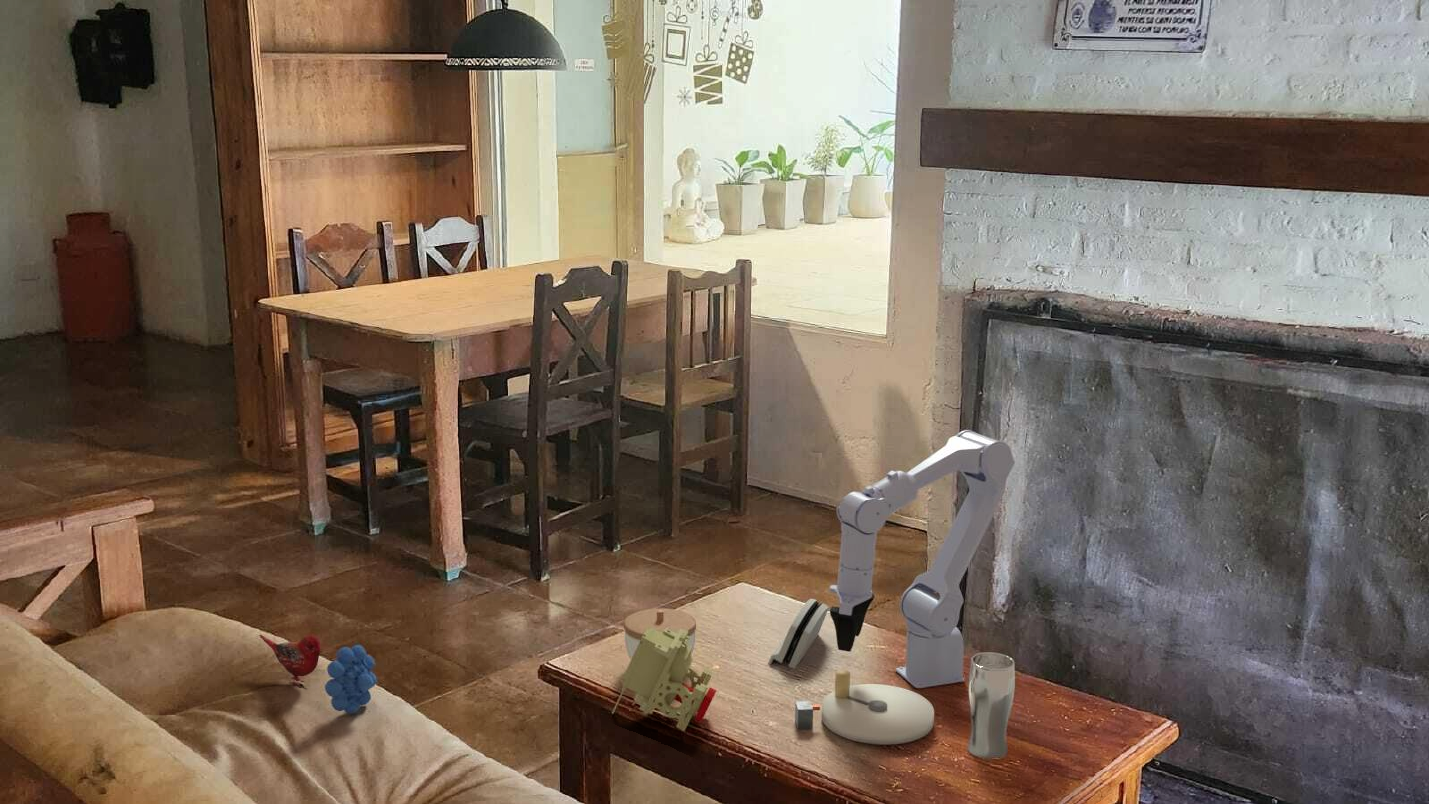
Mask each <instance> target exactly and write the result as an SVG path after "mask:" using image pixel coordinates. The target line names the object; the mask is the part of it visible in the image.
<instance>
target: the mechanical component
mask: <svg viewBox="0 0 1429 804" xmlns="http://www.w3.org/2000/svg"><path fill="white" fill-rule="evenodd" d="M688 632H689V631H687V630H682V629H681V628H680V630H679V631H678V633H675V632H673V631H671V630H669V629H667V628H666V629H665V630H664V632H663V633H661V632H659V631H657V630H654V629H653V628H651V629H650V628H647V630H646V632H645V633H644V635H643V636H642V638H641V640H640V642H639V644H638V646H637V649H636V651H635V653H634V655H633V657H632V659H631V660H630V661H629V663H628V666H627V668H626V670H625V672H624V674H623V677H622V678H621V679H620V683H621V684H622V688H621V693H620V694H619V697H618V699H617V701H616V703H615V706H614V708H613V709H612V711H611V714H612V715H613V714H614V713H615V711H616V708H617V707H618V704H619V703H620V700H621V698H622V696H623V694H624V692H625V691H626V689H629V690H631V691H632V692H635V696H634V698H633V700H634V702H636V703H637V704H638V705H639V706H640V707H639V710H641V711H642V713H643V715H648V714H650V715H652V714H653V712H654V711H655V709H657V710H658V711H659V712H660V713H662V714H663V716H665V717H667V718H670V719H677V720H678V721H677V724H676V726H675V727H676V728H678V729H679V730H680V731H683V732H685V731H686V729H687V727H688V725H689V723H690V720H691V719H692V717H694V719H693V722H696V723H698V724H701V723H702V721H703V719H704V717H705V715H706V714H707V711H708V709H709V707H710V705H711V703H712V701H713V699H714V697H715V695H716V693H717V690H716V689H714V688H712V687H711V686H710V687H709V688H708V687H707V686H708V684H709V683H710V680H711V679H712V676H713V674H714V671H712V670H709V669H707V668H704V669H703V670H702V673H701V674H700V673H699V672H698V670H696V669H695V668H693V667H692V666H691V664H692V663H693V657H692V655H691V651H692V648H690V647H688V646H687V645H686V644H687V642H688V640H689V638H690V637H689V636H687V634H688ZM686 677H688V679H689V680H690V682H691V683H690V686H689V685H687V684H685V683H683V681H684V679H685V678H686ZM695 678H696V679H695ZM673 701H676V702H678V703H679V704H681V705H679V706H678V707H677V706H676V707H673V706H671V705H672V704H673ZM678 712H679V713H678Z"/></svg>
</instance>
